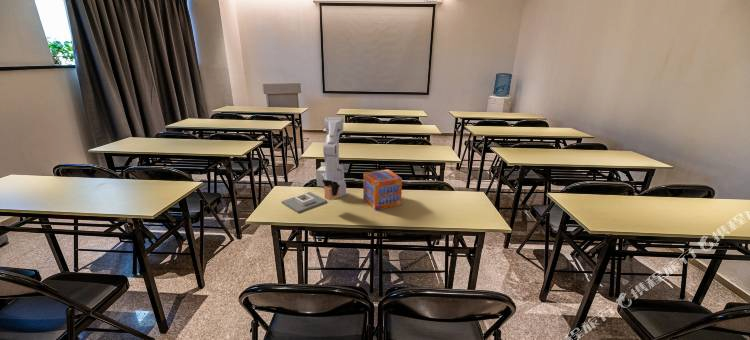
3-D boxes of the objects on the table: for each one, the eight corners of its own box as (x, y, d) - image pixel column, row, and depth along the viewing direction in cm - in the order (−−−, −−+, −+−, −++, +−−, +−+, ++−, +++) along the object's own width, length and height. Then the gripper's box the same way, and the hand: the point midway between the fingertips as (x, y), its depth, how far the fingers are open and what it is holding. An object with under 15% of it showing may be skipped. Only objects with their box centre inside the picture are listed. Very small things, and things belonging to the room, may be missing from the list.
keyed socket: (310, 193, 176) (309, 188, 175) (327, 202, 165) (326, 197, 164) (281, 202, 164) (281, 197, 163) (298, 213, 153) (297, 207, 152)
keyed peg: (334, 194, 157) (334, 183, 155) (339, 197, 154) (339, 186, 152) (324, 197, 153) (324, 186, 151) (329, 200, 150) (329, 189, 148)
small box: (325, 187, 185) (324, 170, 182) (316, 186, 186) (316, 170, 183) (330, 182, 193) (329, 166, 189) (321, 181, 194) (320, 165, 190)
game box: (401, 205, 164) (402, 178, 159) (375, 210, 157) (375, 182, 152) (387, 194, 177) (388, 168, 172) (363, 198, 171) (363, 172, 165)
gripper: (315, 166, 151) (316, 191, 155) (333, 174, 141) (334, 200, 146) (327, 163, 155) (328, 188, 160) (345, 170, 146) (346, 196, 150)
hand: (332, 193), depth 153 cm, fingers closed on keyed peg, 4 cm apart
